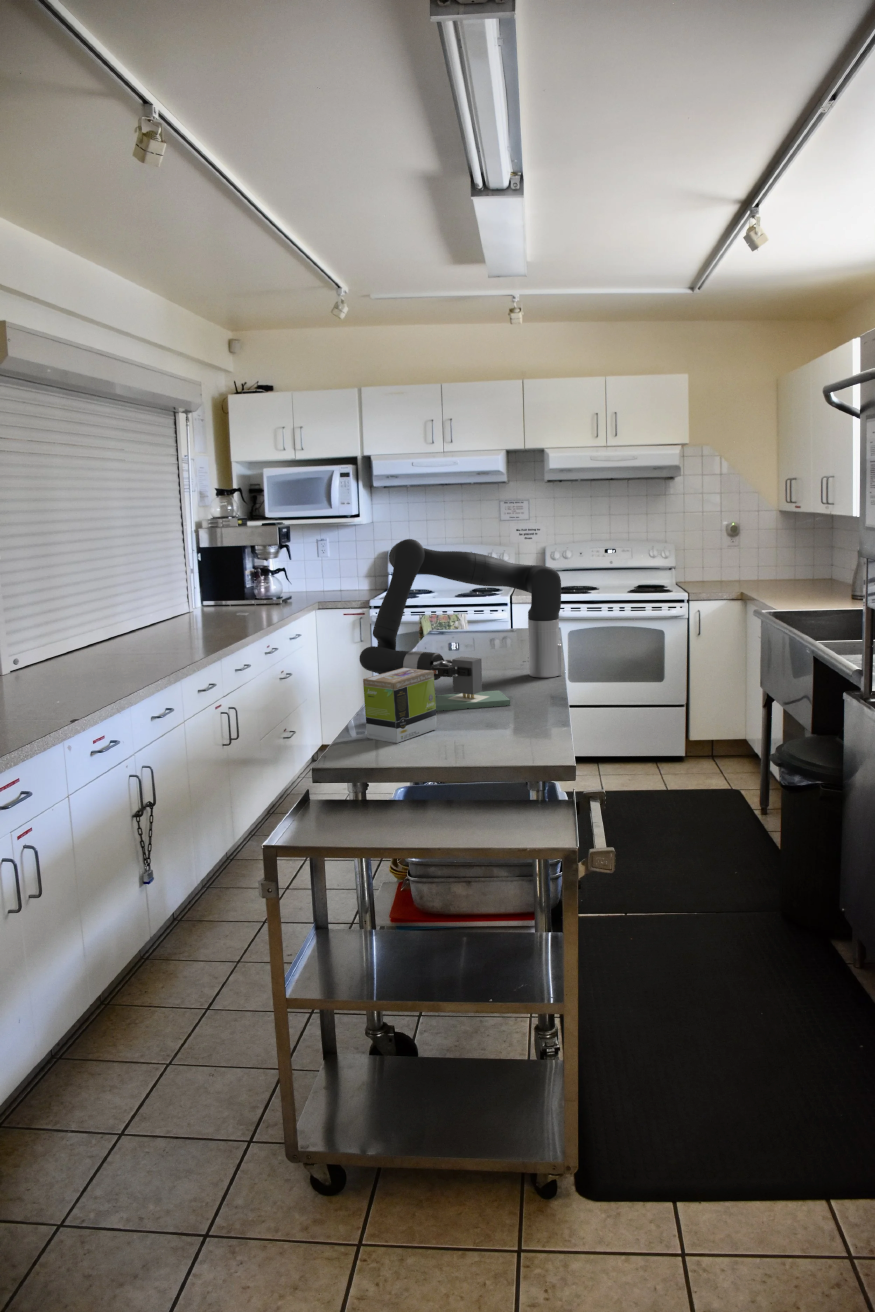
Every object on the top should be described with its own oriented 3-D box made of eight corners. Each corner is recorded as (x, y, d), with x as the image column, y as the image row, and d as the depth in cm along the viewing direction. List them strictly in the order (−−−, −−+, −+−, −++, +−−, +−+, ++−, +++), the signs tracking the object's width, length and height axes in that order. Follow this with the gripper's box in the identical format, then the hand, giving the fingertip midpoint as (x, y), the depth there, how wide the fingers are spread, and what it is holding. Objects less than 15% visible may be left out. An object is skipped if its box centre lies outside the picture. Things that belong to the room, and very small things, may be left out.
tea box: (406, 724, 234) (404, 666, 231) (438, 730, 227) (435, 670, 225) (365, 738, 222) (361, 677, 220) (396, 744, 216) (394, 681, 213)
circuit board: (499, 695, 261) (498, 679, 261) (510, 705, 250) (509, 688, 249) (428, 701, 258) (427, 685, 257) (436, 711, 246) (435, 694, 245)
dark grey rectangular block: (453, 692, 253) (452, 659, 252) (462, 688, 257) (461, 656, 255) (473, 694, 250) (472, 661, 248) (482, 691, 253) (481, 658, 252)
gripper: (407, 656, 254) (461, 661, 244) (437, 647, 265) (489, 652, 256) (408, 683, 255) (461, 689, 246) (438, 674, 267) (490, 679, 257)
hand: (475, 670), depth 251 cm, fingers closed on dark grey rectangular block, 4 cm apart
